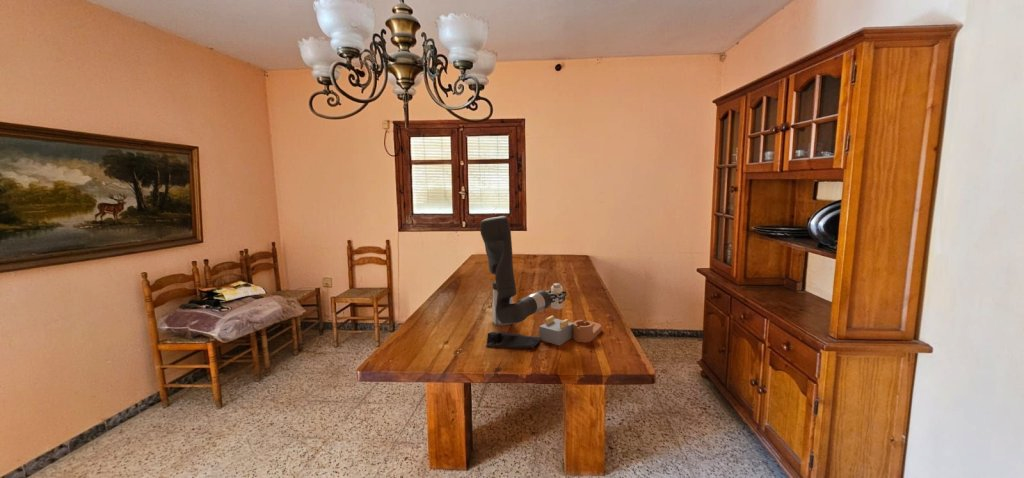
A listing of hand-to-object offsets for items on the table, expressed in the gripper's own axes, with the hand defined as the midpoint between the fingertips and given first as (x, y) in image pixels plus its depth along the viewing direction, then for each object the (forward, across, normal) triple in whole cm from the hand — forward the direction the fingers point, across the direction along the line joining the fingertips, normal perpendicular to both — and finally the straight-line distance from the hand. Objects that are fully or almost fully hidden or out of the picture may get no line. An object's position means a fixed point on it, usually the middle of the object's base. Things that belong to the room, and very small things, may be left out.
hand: (560, 292), depth 170 cm
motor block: (-1, 0, +20) cm, 20 cm away
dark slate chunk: (-17, +12, +21) cm, 30 cm away
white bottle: (-3, 0, +6) cm, 7 cm away
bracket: (+8, -9, +20) cm, 23 cm away
